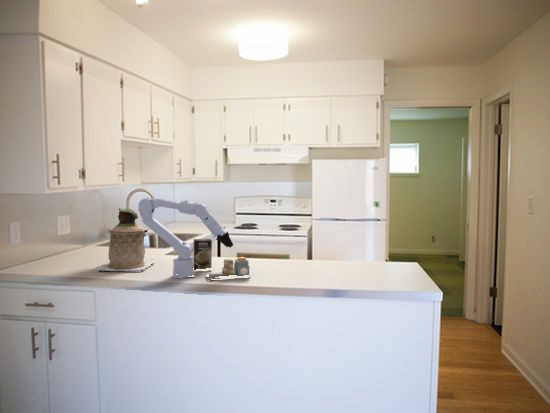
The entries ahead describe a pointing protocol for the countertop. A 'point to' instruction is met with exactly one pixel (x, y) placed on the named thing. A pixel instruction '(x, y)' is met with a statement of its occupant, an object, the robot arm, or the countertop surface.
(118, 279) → the countertop surface
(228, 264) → the carriage
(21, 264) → the countertop surface
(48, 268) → the countertop surface
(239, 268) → the blue-grey jar
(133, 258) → the cookie jar
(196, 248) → the coffee box
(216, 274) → the rail
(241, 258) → the button
